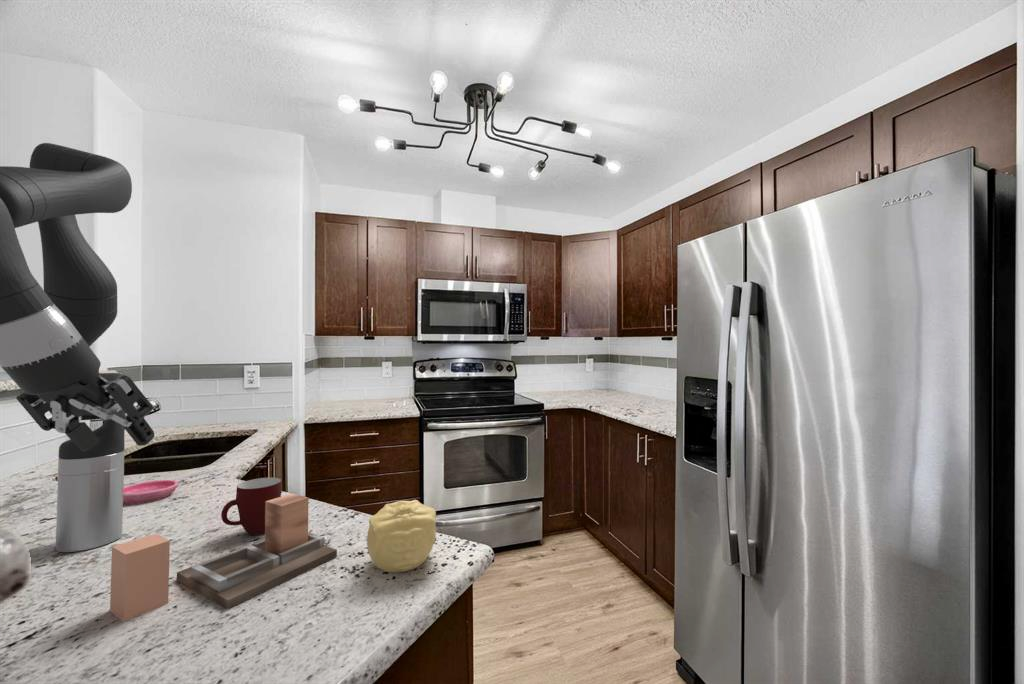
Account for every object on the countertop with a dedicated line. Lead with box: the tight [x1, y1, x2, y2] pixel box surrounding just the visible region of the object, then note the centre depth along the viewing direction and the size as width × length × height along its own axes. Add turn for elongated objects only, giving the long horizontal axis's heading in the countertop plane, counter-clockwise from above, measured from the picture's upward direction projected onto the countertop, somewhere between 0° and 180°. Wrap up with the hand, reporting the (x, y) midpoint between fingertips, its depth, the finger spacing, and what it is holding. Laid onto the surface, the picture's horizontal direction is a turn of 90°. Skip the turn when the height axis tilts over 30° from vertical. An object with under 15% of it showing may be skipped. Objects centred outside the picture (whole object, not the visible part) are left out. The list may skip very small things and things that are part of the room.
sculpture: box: [366, 499, 437, 573], centre depth 73 cm, size 11×12×11 cm
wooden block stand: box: [176, 493, 338, 610], centre depth 71 cm, size 16×18×10 cm
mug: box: [220, 477, 283, 536], centre depth 85 cm, size 11×8×10 cm
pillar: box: [109, 533, 171, 622], centre depth 60 cm, size 5×5×9 cm
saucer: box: [123, 479, 179, 505], centre depth 109 cm, size 12×12×3 cm
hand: (119, 444), depth 59 cm, fingers open, 8 cm apart
